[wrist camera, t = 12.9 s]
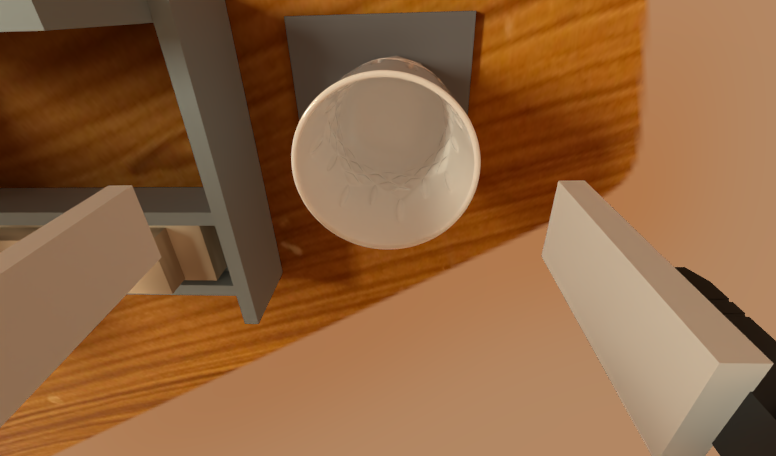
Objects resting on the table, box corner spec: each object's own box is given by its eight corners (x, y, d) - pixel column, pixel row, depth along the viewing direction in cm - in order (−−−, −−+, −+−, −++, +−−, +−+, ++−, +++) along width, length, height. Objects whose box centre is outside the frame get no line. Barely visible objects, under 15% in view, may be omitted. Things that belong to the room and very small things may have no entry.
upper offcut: (26, 277, 30) (5, 292, 28) (-7, 227, 27) (-32, 240, 26) (185, 278, 29) (172, 294, 27) (165, 227, 27) (150, 241, 25)
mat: (311, 186, 28) (309, 189, 27) (286, 16, 22) (284, 16, 22) (460, 186, 27) (461, 189, 27) (474, 10, 22) (476, 10, 21)
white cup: (470, 145, 25) (502, 218, 16) (363, 185, 27) (342, 269, 18) (430, 21, 21) (445, 32, 13) (310, 77, 23) (253, 119, 15)
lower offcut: (40, 264, 31) (21, 278, 30) (7, 212, 29) (-15, 224, 27) (226, 266, 30) (217, 280, 29) (210, 212, 28) (198, 224, 26)
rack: (17, 270, 33) (-158, 388, 23) (-158, 6, 23) (-616, 8, 13) (282, 272, 32) (223, 399, 22) (223, -6, 22) (56, -15, 11)
